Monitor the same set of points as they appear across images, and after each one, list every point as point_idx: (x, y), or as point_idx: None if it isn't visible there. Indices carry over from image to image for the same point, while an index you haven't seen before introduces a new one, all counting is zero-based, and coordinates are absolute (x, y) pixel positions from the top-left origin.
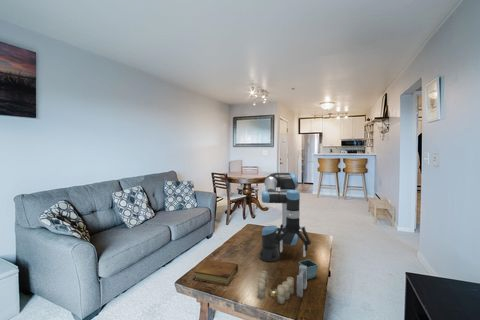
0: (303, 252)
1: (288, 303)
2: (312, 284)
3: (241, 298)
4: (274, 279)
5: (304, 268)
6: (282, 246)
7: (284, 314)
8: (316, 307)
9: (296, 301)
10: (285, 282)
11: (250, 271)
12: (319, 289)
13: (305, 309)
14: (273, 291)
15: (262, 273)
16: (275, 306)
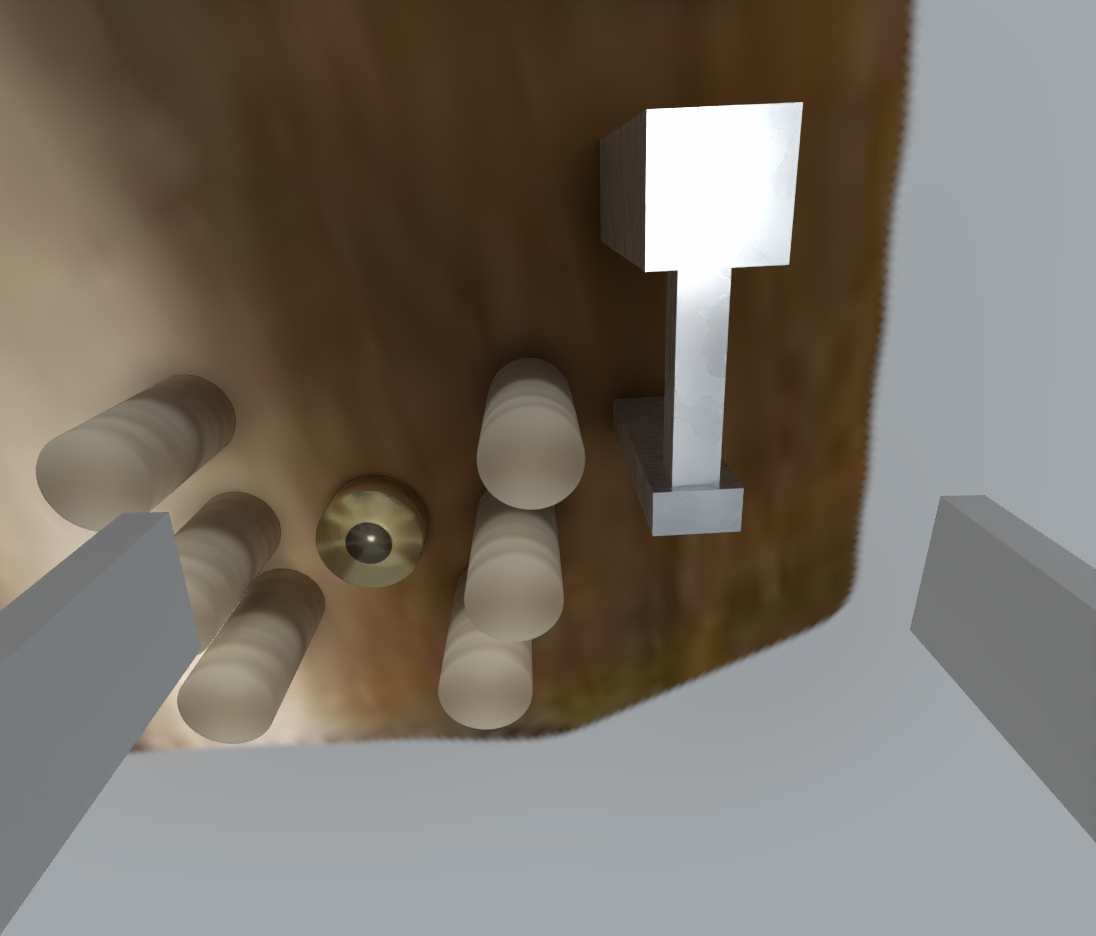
0: (997, 726)
1: (566, 582)
2: (766, 43)
3: None
4: (225, 184)
5: (759, 258)
6: (71, 599)
7: (575, 720)
8: (828, 520)
9: (631, 520)
10: (501, 586)
11: None
12: (864, 143)
13: (731, 592)
14: (377, 563)
15: (97, 515)
16: None
